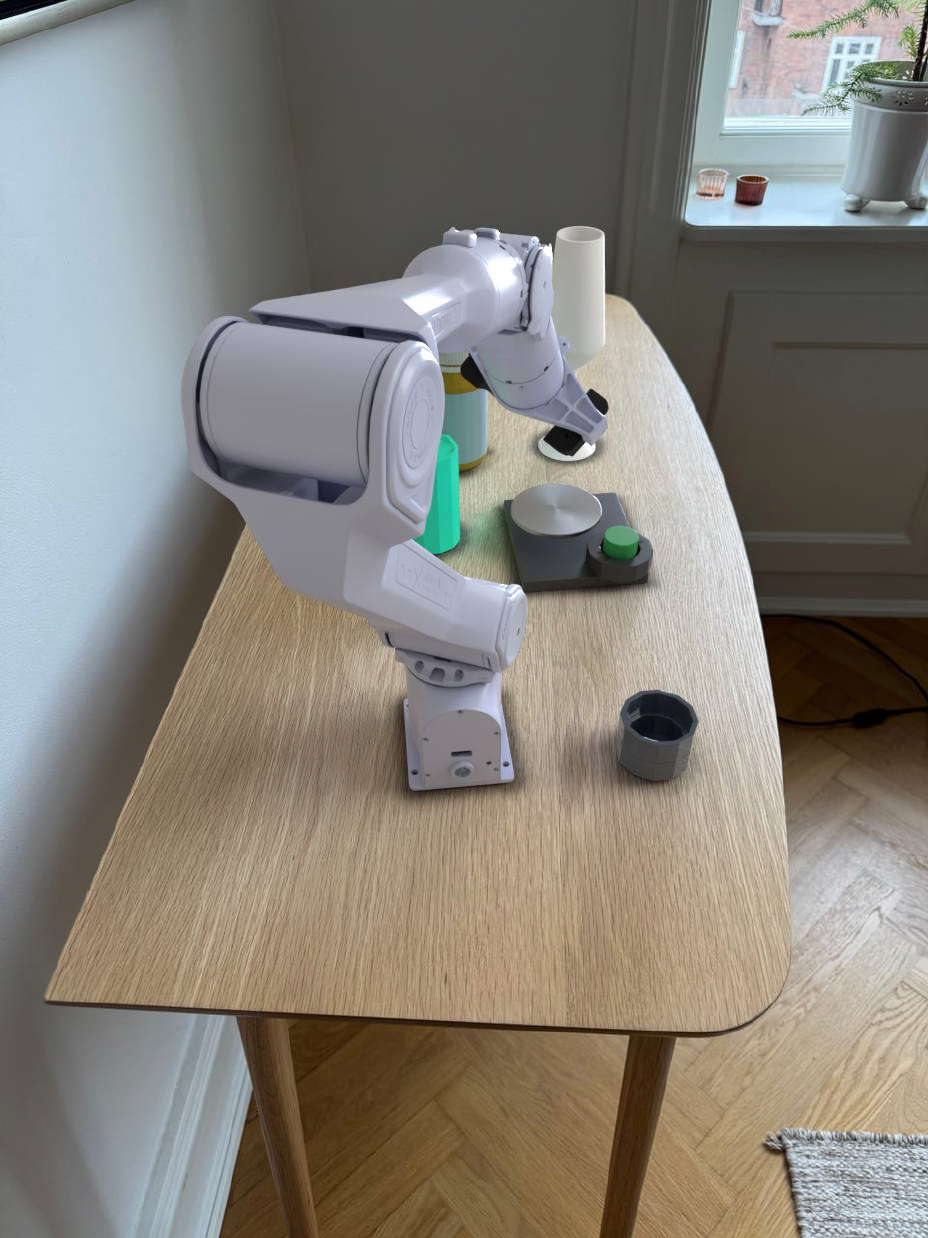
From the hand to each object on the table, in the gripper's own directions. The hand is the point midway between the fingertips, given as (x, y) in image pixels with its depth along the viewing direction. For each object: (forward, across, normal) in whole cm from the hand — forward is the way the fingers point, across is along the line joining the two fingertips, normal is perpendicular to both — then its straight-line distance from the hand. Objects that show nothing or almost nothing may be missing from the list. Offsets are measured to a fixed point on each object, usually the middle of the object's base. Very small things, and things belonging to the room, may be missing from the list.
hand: (544, 420), depth 80 cm
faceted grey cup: (-2, -26, +16) cm, 30 cm away
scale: (+14, -6, +5) cm, 16 cm away
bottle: (+22, +14, +5) cm, 26 cm away
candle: (+12, +6, +14) cm, 19 cm away
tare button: (+10, -11, +3) cm, 15 cm away
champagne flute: (+26, +6, -5) cm, 27 cm away
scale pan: (+12, -3, +4) cm, 13 cm away
